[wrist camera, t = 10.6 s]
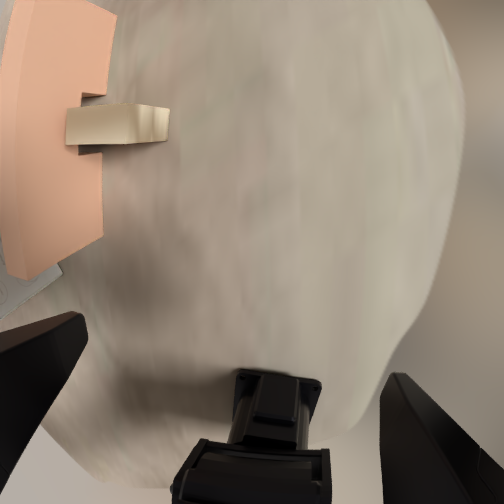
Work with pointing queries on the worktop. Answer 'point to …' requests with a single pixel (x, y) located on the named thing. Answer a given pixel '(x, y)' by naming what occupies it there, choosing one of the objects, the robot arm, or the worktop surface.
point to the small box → (21, 286)
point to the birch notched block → (116, 124)
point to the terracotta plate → (49, 131)
